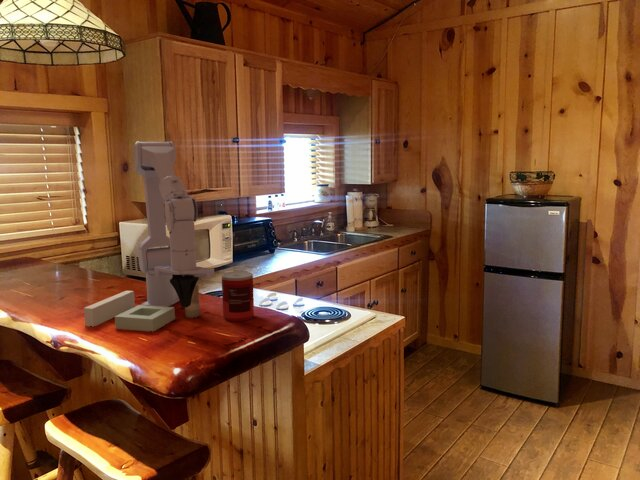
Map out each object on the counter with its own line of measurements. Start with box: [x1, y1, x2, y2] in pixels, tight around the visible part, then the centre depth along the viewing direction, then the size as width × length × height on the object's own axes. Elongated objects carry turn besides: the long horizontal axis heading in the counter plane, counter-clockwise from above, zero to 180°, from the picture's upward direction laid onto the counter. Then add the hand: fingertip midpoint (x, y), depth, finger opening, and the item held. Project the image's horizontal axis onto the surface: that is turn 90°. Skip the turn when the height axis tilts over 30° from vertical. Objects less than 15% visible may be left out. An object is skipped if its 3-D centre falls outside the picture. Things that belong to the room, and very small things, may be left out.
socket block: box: [114, 304, 176, 332], centre depth 131 cm, size 10×10×3 cm
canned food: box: [221, 270, 255, 322], centre depth 135 cm, size 8×8×11 cm
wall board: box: [83, 290, 136, 328], centre depth 138 cm, size 17×2×4 cm, turn 165°
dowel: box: [184, 283, 201, 319], centre depth 137 cm, size 4×4×8 cm
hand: (186, 306), depth 128 cm, fingers closed
